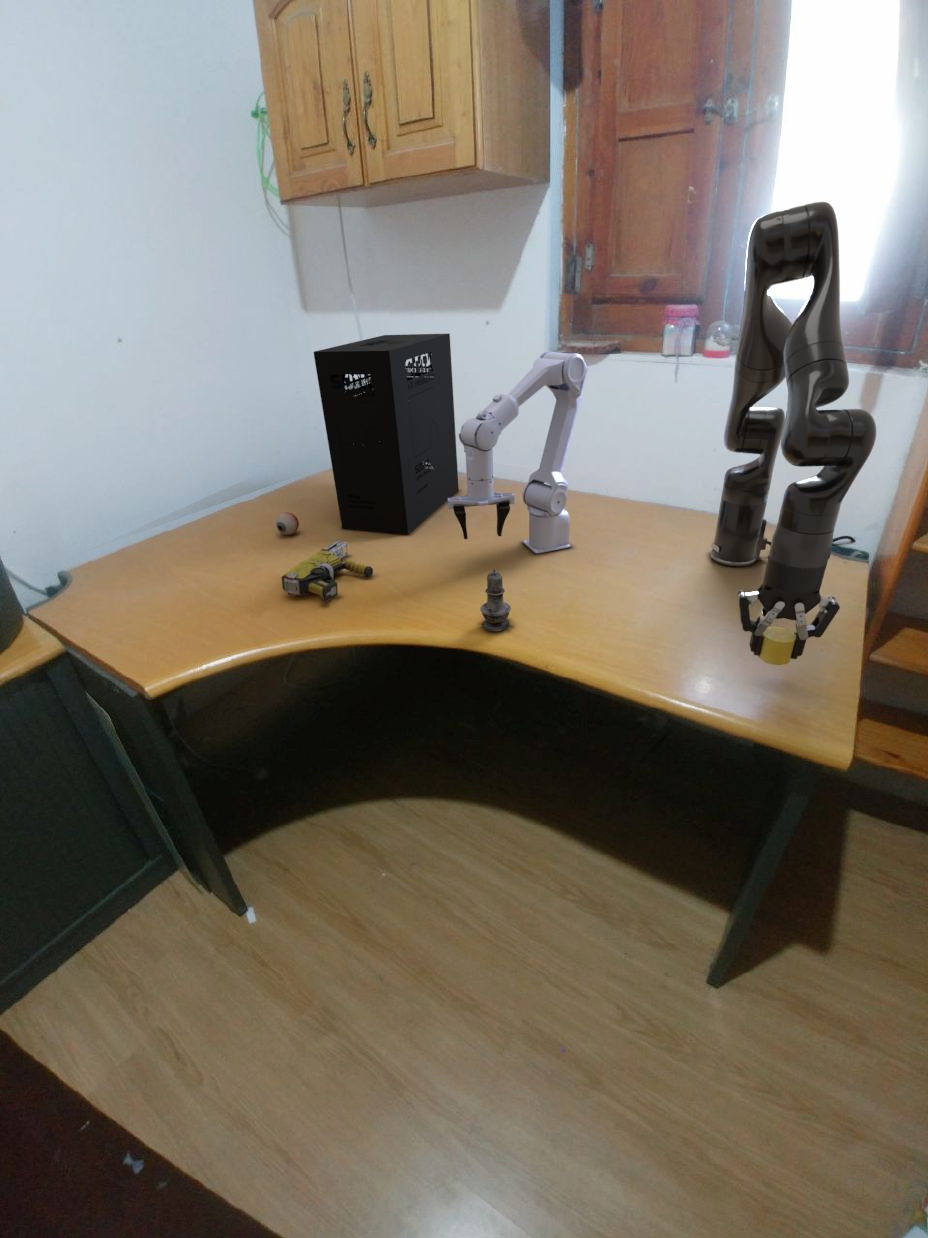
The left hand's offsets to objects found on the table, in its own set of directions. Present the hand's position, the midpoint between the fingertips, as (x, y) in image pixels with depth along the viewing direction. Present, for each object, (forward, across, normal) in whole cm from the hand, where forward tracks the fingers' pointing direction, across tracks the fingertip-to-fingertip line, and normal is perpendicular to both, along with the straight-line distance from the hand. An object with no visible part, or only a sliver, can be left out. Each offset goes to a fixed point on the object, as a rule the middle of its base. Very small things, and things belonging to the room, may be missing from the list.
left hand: (482, 536), depth 136 cm
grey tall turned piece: (+8, -1, -26) cm, 27 cm away
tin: (+3, +40, -52) cm, 66 cm away
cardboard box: (+8, -18, +46) cm, 50 cm away
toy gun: (+8, -34, +1) cm, 35 cm away
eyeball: (+8, -50, +32) cm, 60 cm away
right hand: (+2, +40, -52) cm, 66 cm away
